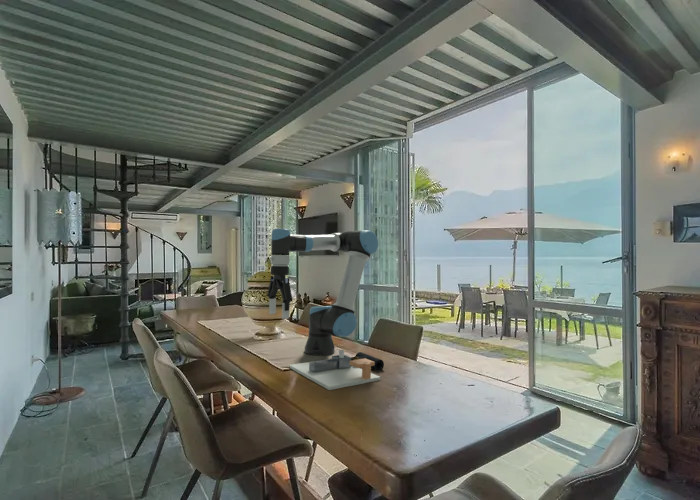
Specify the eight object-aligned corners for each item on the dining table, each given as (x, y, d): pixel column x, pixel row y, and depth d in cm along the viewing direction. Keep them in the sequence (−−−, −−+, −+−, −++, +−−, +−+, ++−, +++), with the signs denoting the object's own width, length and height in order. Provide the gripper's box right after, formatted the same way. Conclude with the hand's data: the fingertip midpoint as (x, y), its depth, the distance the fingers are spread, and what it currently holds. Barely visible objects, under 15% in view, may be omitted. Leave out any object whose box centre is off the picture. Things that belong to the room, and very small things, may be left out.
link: (342, 363, 168) (343, 354, 168) (350, 367, 163) (351, 357, 163) (307, 369, 158) (308, 359, 158) (315, 372, 153) (315, 362, 153)
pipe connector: (362, 361, 160) (343, 353, 173) (362, 374, 160) (342, 365, 172) (384, 358, 166) (364, 351, 179) (383, 371, 166) (363, 362, 179)
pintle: (341, 368, 165) (342, 350, 165) (344, 370, 163) (344, 351, 164) (337, 369, 164) (338, 350, 164) (340, 370, 162) (341, 351, 162)
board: (335, 360, 178) (335, 358, 178) (380, 379, 152) (380, 376, 152) (289, 367, 164) (289, 364, 164) (329, 390, 138) (329, 386, 138)
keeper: (364, 375, 157) (365, 358, 157) (376, 380, 151) (376, 362, 151) (348, 378, 152) (349, 360, 152) (359, 383, 146) (360, 365, 146)
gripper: (260, 264, 169) (259, 312, 169) (284, 266, 148) (282, 321, 148) (276, 264, 173) (275, 311, 173) (301, 266, 153) (300, 320, 152)
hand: (278, 316), depth 161 cm, fingers open, 13 cm apart
